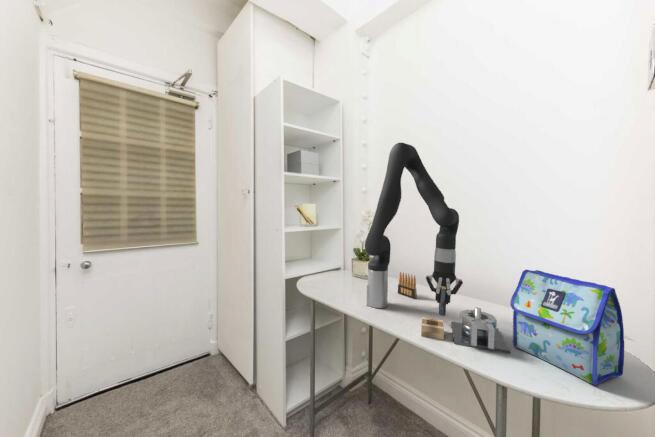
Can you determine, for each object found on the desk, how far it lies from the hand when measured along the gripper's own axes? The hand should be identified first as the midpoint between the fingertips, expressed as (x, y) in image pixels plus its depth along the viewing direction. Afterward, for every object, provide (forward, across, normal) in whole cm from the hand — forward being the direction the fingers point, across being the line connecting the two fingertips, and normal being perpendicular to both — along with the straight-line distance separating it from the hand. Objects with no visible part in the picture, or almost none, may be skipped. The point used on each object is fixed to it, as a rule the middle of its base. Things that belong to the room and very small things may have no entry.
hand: (442, 302), depth 101 cm
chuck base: (+9, +12, -5) cm, 15 cm away
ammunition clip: (+10, -15, +30) cm, 35 cm away
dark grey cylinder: (+5, 0, 0) cm, 5 cm away
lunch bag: (+8, +32, -12) cm, 36 cm away
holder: (+9, -4, -8) cm, 13 cm away
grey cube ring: (+7, +11, -7) cm, 16 cm away
